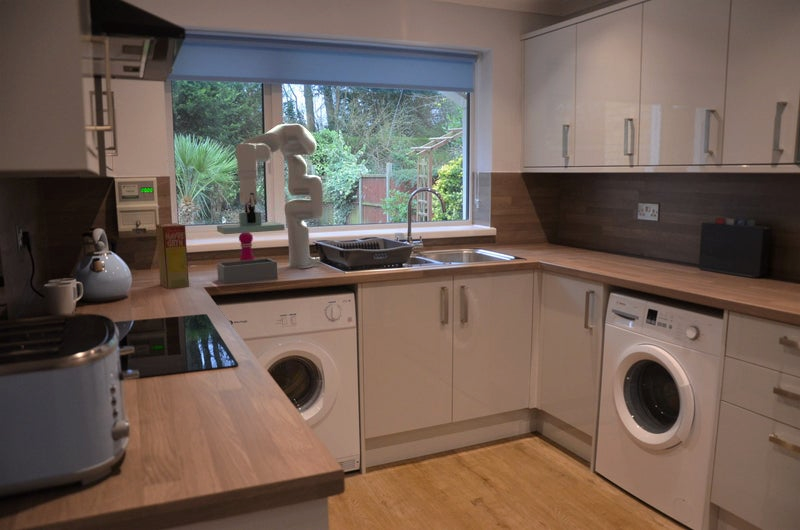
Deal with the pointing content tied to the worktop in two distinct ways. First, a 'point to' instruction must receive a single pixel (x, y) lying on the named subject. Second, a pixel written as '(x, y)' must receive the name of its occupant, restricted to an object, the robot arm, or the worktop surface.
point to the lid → (250, 225)
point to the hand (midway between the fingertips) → (250, 221)
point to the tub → (247, 270)
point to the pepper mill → (246, 246)
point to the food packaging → (172, 255)
